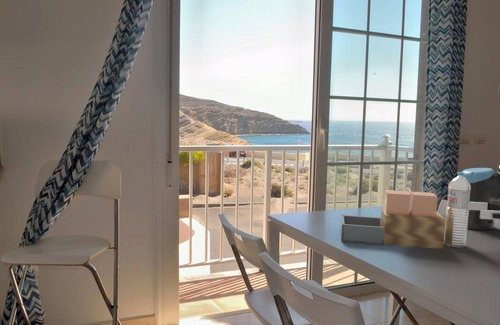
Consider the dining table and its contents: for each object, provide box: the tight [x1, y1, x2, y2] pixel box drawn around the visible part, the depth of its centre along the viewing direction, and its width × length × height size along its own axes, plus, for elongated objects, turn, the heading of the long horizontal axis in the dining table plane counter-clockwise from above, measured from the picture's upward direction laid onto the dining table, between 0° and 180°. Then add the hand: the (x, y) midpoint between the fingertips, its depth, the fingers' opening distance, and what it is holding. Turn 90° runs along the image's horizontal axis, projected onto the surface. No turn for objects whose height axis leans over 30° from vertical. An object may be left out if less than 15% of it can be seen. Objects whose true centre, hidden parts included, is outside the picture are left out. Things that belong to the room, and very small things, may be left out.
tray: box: [340, 214, 385, 246], centre depth 151 cm, size 14×15×6 cm
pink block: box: [383, 189, 411, 215], centre depth 147 cm, size 8×7×7 cm
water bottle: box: [444, 171, 471, 249], centre depth 144 cm, size 7×7×25 cm
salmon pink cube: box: [409, 190, 438, 217], centre depth 146 cm, size 8×7×7 cm
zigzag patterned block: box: [380, 207, 446, 250], centre depth 147 cm, size 19×12×10 cm, turn 79°
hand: (473, 209), depth 142 cm, fingers open, 13 cm apart
